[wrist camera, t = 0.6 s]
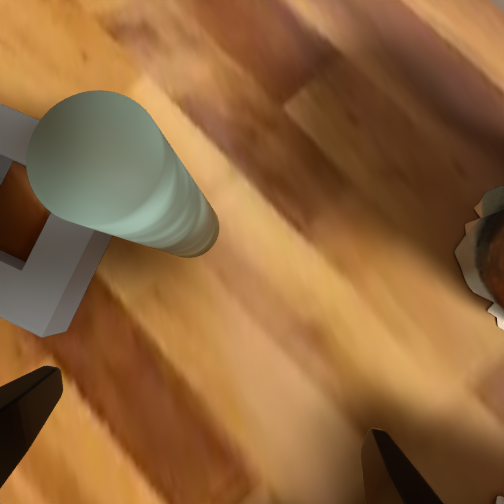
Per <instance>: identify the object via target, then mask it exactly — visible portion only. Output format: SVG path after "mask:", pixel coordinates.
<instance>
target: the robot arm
mask: <svg viewBox="0 0 504 504" xmlns="http://www.w3.org/2000/svg"><path fill="white" fill-rule="evenodd" d="M62 392H63V384H62V375H61V370H60V369H59V368H57V367H52V366H43V367H41V368H39V369H37V370H34V371H32V372H30V373H28V374H26V375H24V376H22V377H20V378H18V379H16V380H14V381H12V382H9V383H7V384H5V385H3V386H1V387H0V488H1V487H2V486H3V484H4V483H5V481H6V480H7V479H8V477H9V476H10V475H11V473H12V472H13V471H14V469H15V468H16V466H17V465H18V464H19V462H20V461H21V460H22V458H23V457H24V455H25V454H26V453H27V451H28V450H29V448H30V447H31V445H32V443H33V442H34V440H35V439H36V437H37V435H38V434H39V432H40V430H41V429H42V427H43V425H44V424H45V422H46V421H47V419H48V417H49V416H50V414H51V412H52V411H53V409H54V407H55V406H56V404H57V403H58V401H59V399H60V397H61V395H62ZM361 460H362V469H363V479H364V489H365V498H366V504H444V503H443V502H442V501H441V499H440V498H439V497H438V495H437V494H436V493H435V492H434V490H433V489H432V488H431V487H430V485H429V484H428V483H427V482H426V480H425V479H424V478H423V477H422V475H421V474H420V473H419V472H418V470H417V469H416V468H415V467H414V465H413V464H412V463H411V461H410V460H409V459H408V458H407V456H406V455H405V454H404V453H403V451H402V450H401V449H400V448H399V446H398V445H397V444H396V443H395V441H394V440H393V439H392V438H391V436H390V435H389V434H388V433H387V432H386V431H385V430H383V429H378V428H373V427H372V428H370V429H369V430H368V432H367V435H366V437H365V440H364V443H363V445H362V449H361Z"/></svg>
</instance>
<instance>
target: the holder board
mask: <svg viewBox="0 0 504 504" xmlns="http://www.w3.org/2000/svg"><path fill="white" fill-rule="evenodd" d="M39 121H40V120H38V119H35V118H33V117H31V116H28V115H26V114H24V113H21V112H19V111H17V110H14V109H12V108H9V107H7V106H5V105H2V104H0V185H1V183H2V182H3V180H4V178H5V176H6V174H7V172H8V170H9V168H10V166H11V164H12V162H13V161H14V162H16V163H18V164H21V165H23V166H25V167H26V154H27V148H28V144H29V141H30V138H31V136H32V133H33V131H34V129H35V128H36V126H37V124H38V123H39ZM112 236H113V235H110V234H107V233H104V232H101V231H98V230H95V229H91V228H88V227H85V226H82V225H79V224H76V223H73V222H70V221H67V220H64V219H62V218H60V217H58V216H56V215H54V214H53V213H52V212H51V214H50V216H49V218H48V220H47V222H46V224H45V226H44V228H43V230H42V232H41V234H40V236H39V238H38V240H37V242H36V244H35V246H34V248H33V250H32V252H31V254H30V256H29V258H28V260H27V262H25V261H23V260H20V259H18V258H16V257H14V256H12V255H10V254H7V253H5V252H3V251H1V250H0V317H1V318H3V319H5V320H7V321H9V322H11V323H13V324H15V325H17V326H19V327H21V328H23V329H25V330H28V331H30V332H32V333H34V334H36V335H38V336H40V337H46V336H50V335H54V334H58V333H62V332H66V331H67V329H68V327H69V325H70V323H71V321H72V319H73V317H74V314H75V312H76V310H77V308H78V306H79V304H80V302H81V300H82V298H83V296H84V294H85V292H86V290H87V288H88V285H89V283H90V281H91V279H92V277H93V275H94V273H95V271H96V269H97V267H98V265H99V263H100V261H101V259H102V256H103V254H104V252H105V250H106V248H107V246H108V244H109V242H110V240H111V238H112Z"/></svg>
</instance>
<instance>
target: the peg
mask: <svg viewBox="0 0 504 504" xmlns="http://www.w3.org/2000/svg"><path fill="white" fill-rule="evenodd" d="M26 169H27V175H28V179H29V183H30V185H31V188H32V190H33V192H34V194H35V195H36V197H37V198H38V200H39V201H40V202H41V203H42V204H43V205H44V206H45V207H46V208H47V209H48V210H49V211H50V212H52V213H53V214H54V215H56V216H58V217H60V218H62V219H64V220H67V221H70V222H73V223H76V224H79V225H82V226H85V227H88V228H91V229H95V230H98V231H101V232H104V233H107V234H110V235H113V236H117V237H120V238H123V239H126V240H129V241H132V242H135V243H139V244H142V245H145V246H148V247H151V248H154V249H158V250H161V251H164V252H167V253H170V254H173V255H176V256H180V257H184V258H192V257H197V256H200V255H202V254H204V253H205V252H207V251H208V250H209V249H210V248H211V247H212V246H213V245H214V243H215V241H216V240H217V237H218V233H219V221H218V217H217V215H216V213H215V211H214V210H213V208H212V207H211V205H210V204H209V202H208V201H207V199H206V198H205V196H204V195H203V193H202V192H201V190H200V189H199V187H198V186H197V184H196V183H195V181H194V180H193V178H192V177H191V175H190V174H189V172H188V171H187V169H186V168H185V166H184V165H183V163H182V162H181V160H180V159H179V157H178V156H177V154H176V153H175V151H174V150H173V148H172V147H171V146H170V144H169V143H168V141H167V140H166V138H165V137H164V135H163V134H162V132H161V131H160V129H159V128H158V126H157V125H156V123H155V122H154V120H153V119H152V117H151V116H150V115H149V113H148V112H147V111H146V110H145V109H144V108H143V107H142V106H141V105H140V104H138V103H137V102H135V101H134V100H132V99H130V98H128V97H126V96H124V95H121V94H118V93H115V92H110V91H88V92H82V93H79V94H76V95H73V96H71V97H68V98H66V99H64V100H63V101H61V102H59V103H58V104H56V105H55V106H54V107H53V108H51V109H50V110H49V111H48V112H47V113H46V114H45V115H44V116H43V117H42V119H41V120H40V121H39V123H38V124H37V126H36V128H35V129H34V131H33V133H32V136H31V138H30V141H29V144H28V148H27V154H26Z"/></svg>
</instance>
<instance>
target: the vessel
mask: <svg viewBox="0 0 504 504" xmlns="http://www.w3.org/2000/svg"><path fill="white" fill-rule="evenodd" d="M474 209H475V211H476V212H477V214H478V215H479V216H480V218H479V219H477V220H474V221H471V222H469V223H466V224H465V230H466V236H465V237H464V238H463V240H462V241H461V242H460V244H459V245H458V247H457V248H456V250H455V251H454V253H455V255H456V257H457V259H458V262H459V264H460V266H461V269H462V272H463V275H464V278H465V280H466V282H467V285H468V286H469V287H470V288H471V290H472V291H473V292H474V293H476V294H478V295H480V296H481V297H484V298H486V299H488V300H490V301H492V302H494V304H493V305H492V306H491V307H490V308H489V309H488V310H487V311H488V312H489V313H491V314H492V315H494V316H495V317H497V323H498V327H500V328H501V329H503V330H504V185H502V186H498V187H495V188H493V189H491V190H489V191H487V192H485V194H484V196H483V197H482V199H481V201H480V202H479V203H478V204H477V205H476V206H475V208H474Z"/></svg>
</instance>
